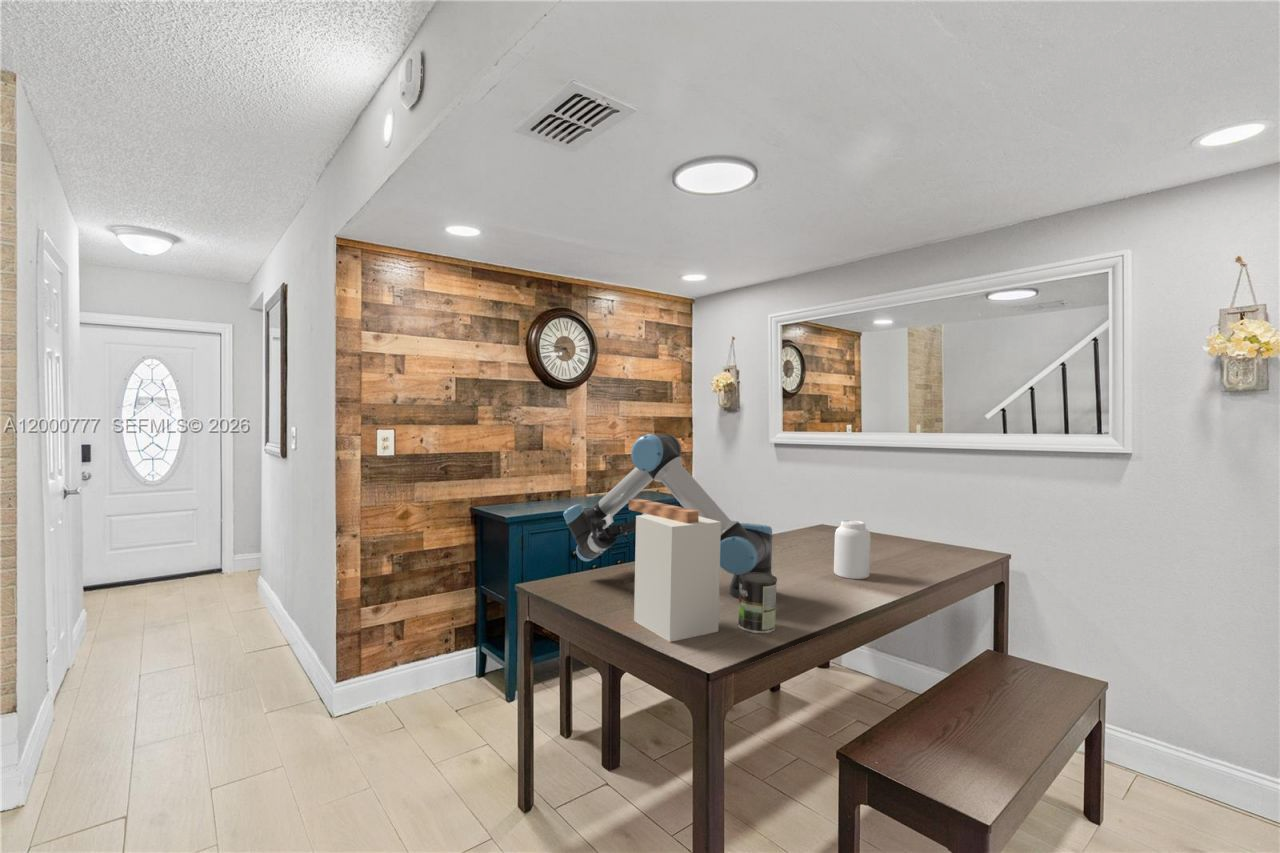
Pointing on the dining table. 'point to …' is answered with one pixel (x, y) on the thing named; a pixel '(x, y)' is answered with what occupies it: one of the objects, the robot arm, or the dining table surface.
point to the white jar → (852, 550)
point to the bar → (664, 510)
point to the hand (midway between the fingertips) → (630, 515)
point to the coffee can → (757, 602)
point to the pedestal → (677, 576)
